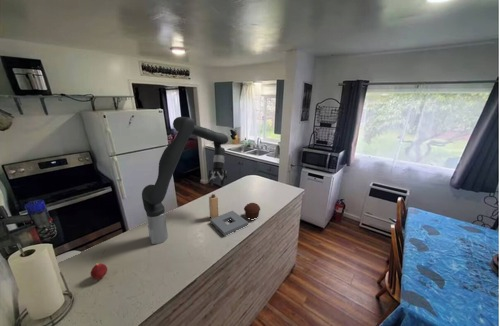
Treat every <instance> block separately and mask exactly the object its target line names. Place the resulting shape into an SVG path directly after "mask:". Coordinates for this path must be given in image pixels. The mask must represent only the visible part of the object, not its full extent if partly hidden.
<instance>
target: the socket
mask: <svg viewBox="0 0 500 326" xmlns="http://www.w3.org/2000/svg"><path fill="white" fill-rule="evenodd" d="M230 219H231V220H232V221H233V222H231V223H229V224H228V223H227V222H226V221H228V220H230ZM209 222H211V223H212V224H213V225H214V226H215V227H216V228H217V229H218V230H219V231H220V232H221V233H222V234H223V235H224V236H226V235H228V234H230V233H232V232H234V231H236V230H239V229H241V228H243V227H245V226H247V225H248V226H249V221H248V220H246V219H244V218H243V216H240V215H239V213H237V212H235V211H234V210H231V211H228V212H225V213H223V214H221V215H220V214H219V215H218V216H217V217H215V218H212V219H211V218H210V221H209ZM225 222H226V223H225ZM211 223H210V224H211ZM212 224H211V225H212ZM213 225H212V226H213ZM214 226H213V227H214ZM248 226H247V227H248ZM215 227H214V228H215ZM216 228H215V229H216ZM245 228H246V227H245ZM217 229H216V230H217ZM243 229H244V228H243ZM218 230H217V231H218ZM241 230H242V229H241ZM219 231H218V232H219ZM239 231H240V230H239ZM220 232H219V233H220ZM221 233H220V234H221ZM234 233H235V232H234ZM222 234H221V235H222ZM232 234H233V233H232ZM223 235H222V236H223ZM230 235H231V234H230ZM224 236H223V237H224ZM228 236H229V235H228ZM226 237H227V236H226Z"/></svg>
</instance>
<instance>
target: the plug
mask: <svg viewBox="0 0 500 326" xmlns="http://www.w3.org/2000/svg"><path fill="white" fill-rule="evenodd" d="M208 204H209V205H208V208H209V209H208V210H209V218H210V217H211V218H215V217H217V216H219V198H218V196H216V194H213V193H212V194H211V196H208ZM211 218H210V219H211Z"/></svg>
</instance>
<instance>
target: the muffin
mask: <svg viewBox="0 0 500 326" xmlns="http://www.w3.org/2000/svg"><path fill="white" fill-rule="evenodd" d="M243 210H244V213H245V218H246V217H247V218H250V219H254V218H257V217H258V218H259V215H260V211H261V206H259V204H257V203H255V202H250V203H247V204H246V205H245V206H244V208H243ZM247 218H246V219H247ZM258 218H257V219H258Z"/></svg>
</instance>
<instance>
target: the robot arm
mask: <svg viewBox="0 0 500 326" xmlns="http://www.w3.org/2000/svg"><path fill="white" fill-rule="evenodd" d="M172 126H173V129H174V130H175V131H176V132H177V133H176V136H175V138H174V139H173V140H172V141H171V142H170V143H169V144H168V145H167V146H166V147H165V148H164V150H163V152H162V154H161V156H160V159H159V162H158V173H157V179H156V181H155V183H154V184H148V185H146V186H145V187H144V188H143V189H142V191H141V199H142V204H143V208H144V211H145V213H146V219H147V229H148V237H149V241H150V242H151V245H159V244H161V243H163V242H166V240H168V238H169V234H168V226H167V218H166V212H165V205H164V204H163V203H162V202H164V199H165V198H166V195H167V192H168V189H169V186H170V182H171V180H172V177H173V175H174V172H175V170H176V168H177V165H178V164H179V161H180V158H181V156H182V154H183V151H184V149H185V148H186V146H187V143H188V141H189V139H190V138H191V136H192V135H193V136H196V137H199V138H202V139H204V140H207V141H209V142H213V147H214V155H213V163H212V170H209V171H208V177H207V178H208V179H209V180H210V182H209V184H210V186H214V182H215V181H214V180H215V179H216V178H218V177H219V178H220V186H221V187H223V186H224V185H225V181H226V180H227V179H228V171H227V169H226V170H225V169H224V168H225V154H226V153H225V152H226V150H225V148H224V147H222V145H225V144H227V143H228V142H229V137H228V135H226V134H225V133H222V132H217V131H214V130H212V129H209V128H206V127H202V126H199V125H196V124H195V121H194V118H192V117H188V116H177V117H176V118H174V120H173V121H172Z"/></svg>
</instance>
